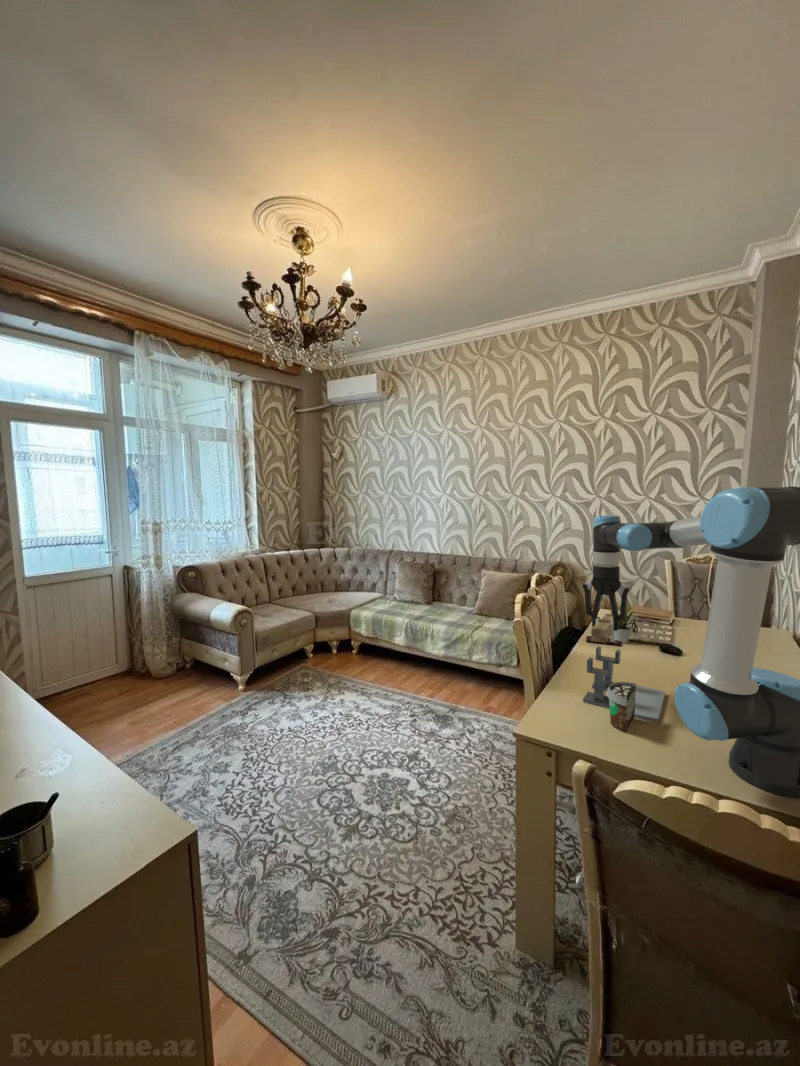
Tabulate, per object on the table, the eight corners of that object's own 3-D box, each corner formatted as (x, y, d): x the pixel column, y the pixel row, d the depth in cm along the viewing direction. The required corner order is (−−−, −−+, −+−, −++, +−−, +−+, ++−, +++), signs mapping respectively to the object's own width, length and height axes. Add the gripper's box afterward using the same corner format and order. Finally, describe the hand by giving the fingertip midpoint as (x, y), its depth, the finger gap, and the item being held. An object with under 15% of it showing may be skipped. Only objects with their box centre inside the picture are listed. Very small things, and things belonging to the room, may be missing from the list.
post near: (615, 701, 133) (616, 660, 132) (611, 709, 128) (612, 667, 127) (587, 694, 138) (588, 655, 137) (583, 701, 133) (583, 661, 132)
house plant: (644, 639, 188) (645, 602, 187) (642, 649, 177) (643, 609, 175) (608, 634, 196) (609, 598, 195) (604, 643, 184) (605, 605, 183)
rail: (617, 626, 143) (617, 615, 143) (604, 642, 127) (604, 630, 127) (605, 624, 145) (605, 613, 145) (591, 640, 129) (591, 628, 129)
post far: (622, 687, 143) (623, 649, 142) (619, 693, 138) (620, 654, 137) (596, 681, 148) (597, 644, 147) (592, 687, 143) (592, 649, 142)
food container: (612, 710, 128) (612, 677, 127) (635, 716, 124) (636, 682, 123) (600, 728, 118) (601, 692, 117) (625, 735, 114) (626, 699, 113)
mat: (657, 723, 120) (658, 719, 120) (625, 715, 125) (625, 711, 125) (665, 694, 137) (665, 691, 137) (636, 688, 142) (636, 685, 142)
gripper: (638, 565, 133) (636, 640, 134) (580, 561, 142) (580, 631, 144) (634, 568, 127) (633, 647, 128) (574, 564, 136) (574, 637, 138)
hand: (605, 638), depth 136 cm, fingers closed on rail, 4 cm apart
